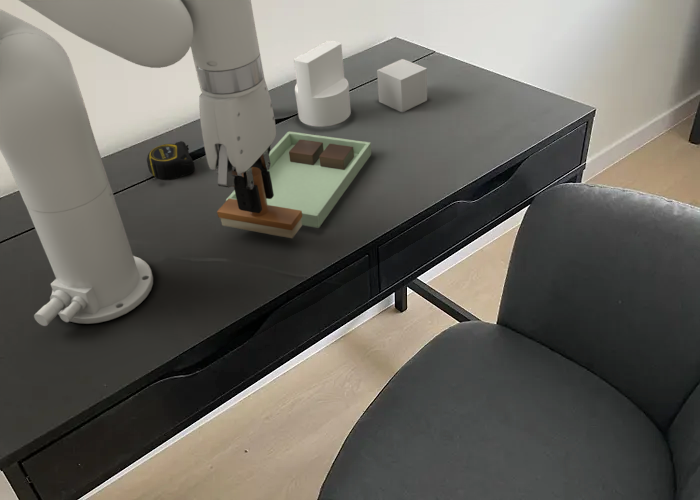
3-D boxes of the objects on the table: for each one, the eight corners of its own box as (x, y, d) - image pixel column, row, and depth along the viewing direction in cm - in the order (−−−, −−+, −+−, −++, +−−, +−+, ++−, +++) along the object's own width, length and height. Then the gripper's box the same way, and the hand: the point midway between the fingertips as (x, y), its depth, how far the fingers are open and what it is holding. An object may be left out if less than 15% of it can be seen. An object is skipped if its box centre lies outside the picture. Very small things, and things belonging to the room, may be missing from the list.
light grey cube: (378, 102, 131) (376, 69, 128) (403, 90, 134) (402, 58, 131) (402, 112, 128) (400, 80, 124) (427, 100, 130) (426, 68, 127)
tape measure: (197, 178, 116) (192, 157, 113) (153, 188, 114) (147, 167, 112) (191, 157, 121) (186, 137, 119) (148, 167, 120) (143, 146, 117)
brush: (293, 239, 97) (284, 185, 91) (220, 225, 100) (207, 173, 95) (304, 225, 99) (295, 171, 94) (231, 212, 103) (219, 160, 97)
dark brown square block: (313, 165, 115) (312, 155, 113) (290, 161, 116) (288, 151, 115) (324, 152, 117) (322, 142, 116) (301, 149, 119) (299, 139, 118)
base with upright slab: (328, 135, 123) (321, 67, 116) (288, 122, 128) (278, 55, 121) (361, 113, 128) (356, 46, 121) (321, 101, 133) (314, 36, 126)
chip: (344, 170, 113) (343, 159, 112) (320, 166, 114) (319, 156, 113) (354, 156, 116) (353, 146, 115) (330, 153, 117) (329, 143, 116)
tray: (319, 232, 102) (317, 215, 100) (229, 215, 107) (225, 199, 105) (371, 158, 116) (370, 142, 115) (290, 146, 121) (288, 131, 120)
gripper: (235, 41, 93) (260, 167, 104) (164, 101, 82) (200, 235, 93) (289, 46, 90) (308, 174, 102) (223, 108, 79) (252, 245, 90)
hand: (256, 202), depth 97 cm, fingers closed on brush, 2 cm apart
